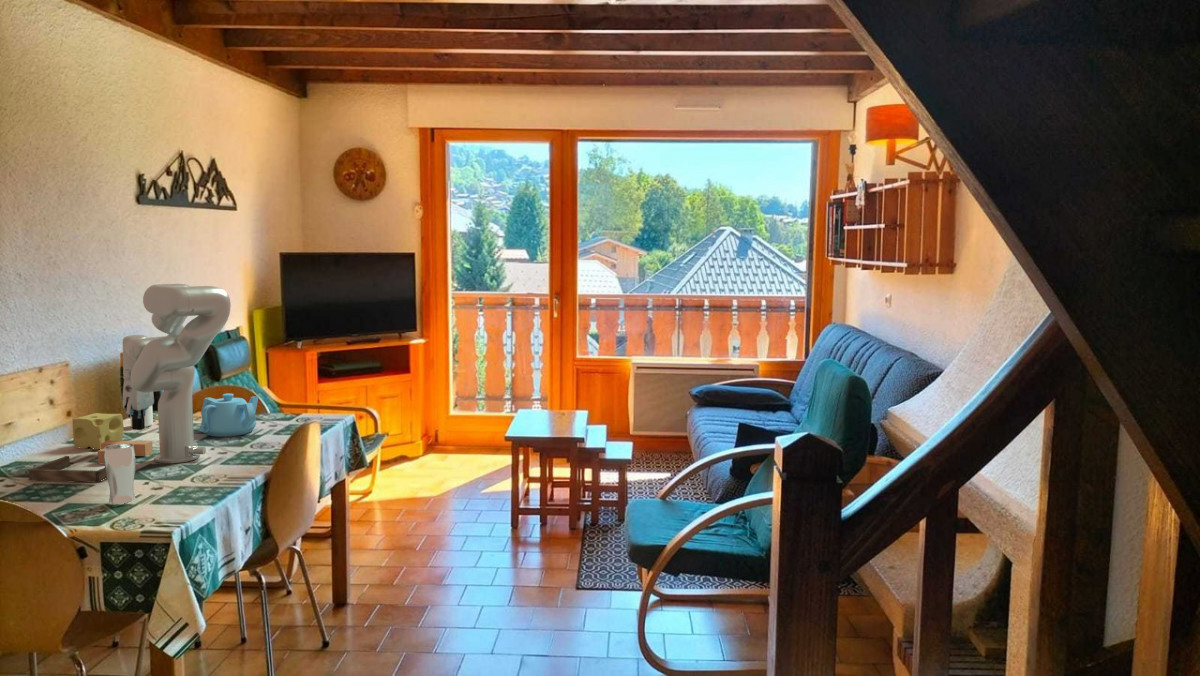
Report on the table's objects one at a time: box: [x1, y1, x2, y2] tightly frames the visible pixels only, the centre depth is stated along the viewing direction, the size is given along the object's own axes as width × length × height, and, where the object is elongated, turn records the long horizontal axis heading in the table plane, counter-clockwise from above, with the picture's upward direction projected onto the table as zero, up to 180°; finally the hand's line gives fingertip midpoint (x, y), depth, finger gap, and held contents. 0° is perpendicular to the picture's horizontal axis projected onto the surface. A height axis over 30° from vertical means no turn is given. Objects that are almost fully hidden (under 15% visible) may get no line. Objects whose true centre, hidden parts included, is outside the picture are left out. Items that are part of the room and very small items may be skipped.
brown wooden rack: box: [28, 455, 107, 482], centre depth 238 cm, size 20×16×3 cm
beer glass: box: [103, 443, 137, 505], centre depth 212 cm, size 7×7×15 cm
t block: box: [97, 440, 154, 464], centre depth 255 cm, size 14×13×4 cm
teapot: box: [199, 393, 259, 438], centre depth 291 cm, size 19×19×14 cm
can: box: [130, 405, 154, 428], centre depth 298 cm, size 7×7×12 cm
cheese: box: [72, 412, 124, 450], centre depth 270 cm, size 10×11×10 cm
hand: (138, 429), depth 267 cm, fingers closed
